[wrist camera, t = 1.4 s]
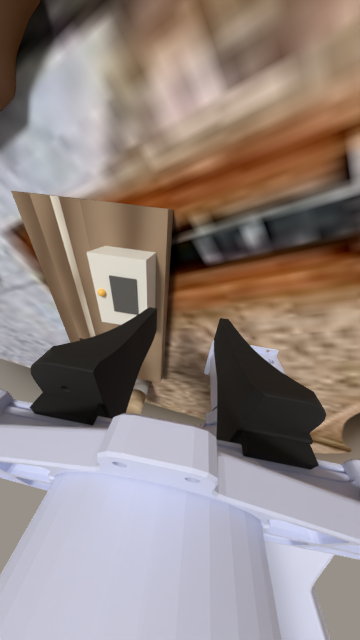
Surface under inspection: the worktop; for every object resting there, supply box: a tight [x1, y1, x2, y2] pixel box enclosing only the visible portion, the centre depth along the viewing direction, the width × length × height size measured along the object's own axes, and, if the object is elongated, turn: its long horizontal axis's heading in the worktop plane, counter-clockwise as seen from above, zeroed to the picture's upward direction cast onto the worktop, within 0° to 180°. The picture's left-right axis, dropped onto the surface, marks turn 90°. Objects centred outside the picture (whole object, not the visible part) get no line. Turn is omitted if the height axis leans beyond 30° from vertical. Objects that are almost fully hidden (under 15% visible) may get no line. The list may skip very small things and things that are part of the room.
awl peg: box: [126, 379, 151, 414], centre depth 29 cm, size 3×3×6 cm
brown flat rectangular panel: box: [11, 191, 173, 383], centre depth 21 cm, size 14×24×2 cm, turn 174°
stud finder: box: [87, 246, 156, 325], centre depth 16 cm, size 5×7×3 cm
